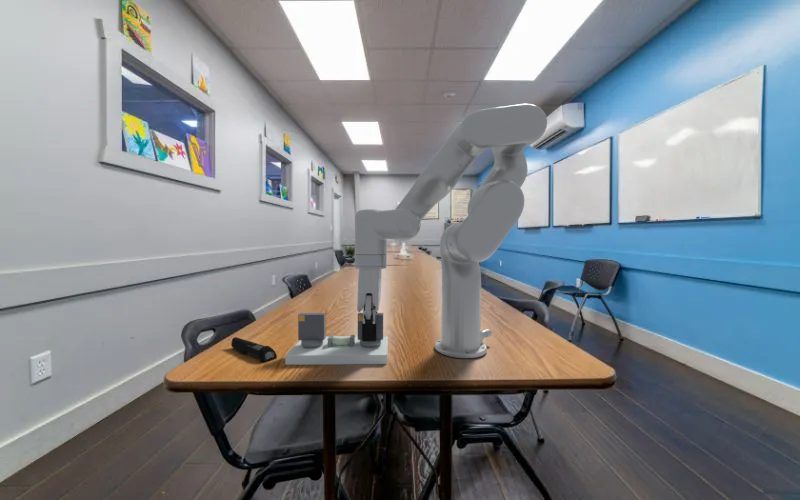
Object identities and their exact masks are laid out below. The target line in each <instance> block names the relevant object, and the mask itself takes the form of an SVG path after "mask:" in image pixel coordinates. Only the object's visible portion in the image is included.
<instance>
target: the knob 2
mask: <svg viewBox="0 0 800 500" xmlns="http://www.w3.org/2000/svg"><path fill="white" fill-rule="evenodd" d="M362 323H363V312H358V313H357V336H358V340H360V345H361V346H363V347H376V346H379V345H381V340H383V336H384V312H377V313H376V315H375V323H376V341H362Z"/></svg>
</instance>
